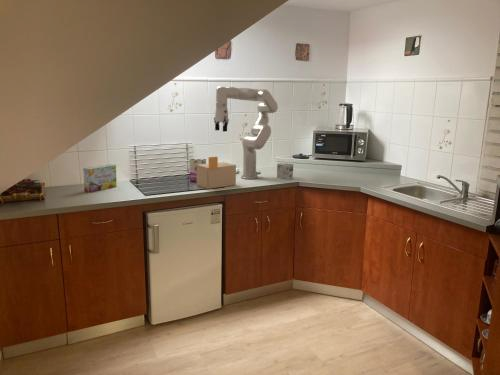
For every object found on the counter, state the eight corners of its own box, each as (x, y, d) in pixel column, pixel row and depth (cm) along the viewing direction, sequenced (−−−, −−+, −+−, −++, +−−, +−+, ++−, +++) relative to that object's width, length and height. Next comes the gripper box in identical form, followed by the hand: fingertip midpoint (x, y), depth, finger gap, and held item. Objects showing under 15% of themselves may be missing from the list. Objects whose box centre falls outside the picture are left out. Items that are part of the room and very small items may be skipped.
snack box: (90, 193, 260) (88, 168, 257) (84, 191, 263) (82, 167, 260) (117, 187, 277) (116, 164, 274) (111, 185, 280) (110, 163, 277)
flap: (235, 184, 288) (235, 154, 284) (236, 185, 287) (236, 155, 283) (208, 188, 276) (208, 157, 271) (209, 188, 274) (209, 157, 270)
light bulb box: (293, 178, 316) (293, 164, 314) (289, 179, 311) (289, 165, 309) (280, 176, 322) (281, 162, 320) (276, 177, 317) (276, 163, 314)
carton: (223, 181, 300) (223, 162, 297) (235, 185, 289) (235, 164, 286) (196, 185, 287) (196, 164, 283) (207, 188, 276) (207, 167, 273)
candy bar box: (206, 181, 298) (206, 158, 295) (202, 183, 294) (202, 159, 290) (193, 180, 303) (193, 157, 300) (189, 181, 299) (189, 158, 295)
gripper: (233, 105, 281) (232, 131, 284) (219, 105, 294) (218, 129, 298) (223, 105, 276) (223, 131, 280) (210, 105, 290) (209, 130, 293)
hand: (221, 130), depth 289 cm, fingers open, 9 cm apart
